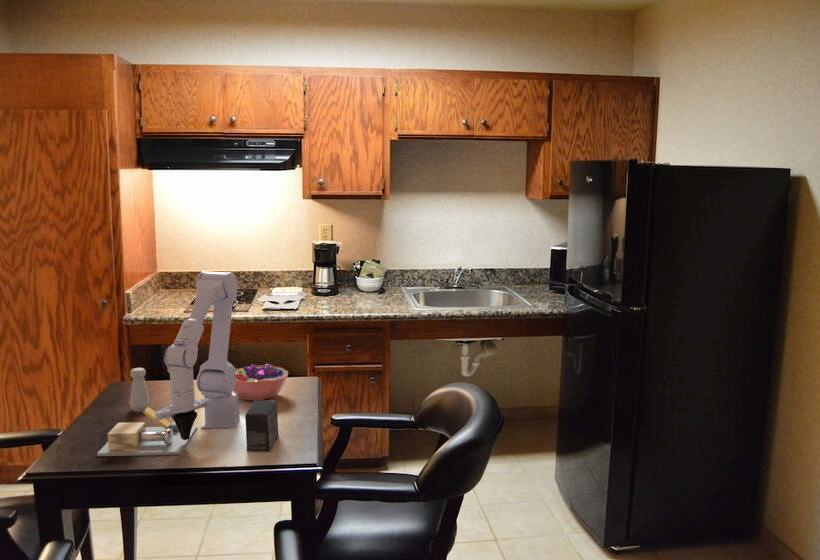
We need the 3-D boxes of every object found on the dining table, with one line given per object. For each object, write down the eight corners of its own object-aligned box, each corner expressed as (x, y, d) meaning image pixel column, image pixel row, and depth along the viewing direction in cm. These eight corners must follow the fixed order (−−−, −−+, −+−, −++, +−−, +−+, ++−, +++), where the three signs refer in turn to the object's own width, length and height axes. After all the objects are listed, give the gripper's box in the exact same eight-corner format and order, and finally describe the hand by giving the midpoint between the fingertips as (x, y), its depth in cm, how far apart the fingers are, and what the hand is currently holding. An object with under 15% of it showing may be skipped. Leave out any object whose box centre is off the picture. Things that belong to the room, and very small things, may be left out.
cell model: (234, 388, 224) (233, 356, 222) (294, 390, 223) (293, 357, 221) (218, 406, 207) (217, 371, 205) (282, 408, 206) (281, 372, 204)
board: (197, 428, 190) (197, 426, 189) (180, 454, 173) (180, 451, 173) (121, 430, 188) (121, 427, 188) (97, 456, 172) (97, 453, 171)
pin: (173, 440, 179) (172, 426, 179) (168, 446, 175) (168, 432, 175) (126, 441, 179) (125, 427, 178) (121, 447, 175) (120, 433, 174)
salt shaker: (143, 414, 201) (140, 372, 198) (125, 412, 202) (123, 371, 199) (154, 407, 206) (151, 366, 204) (137, 405, 207) (134, 365, 205)
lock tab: (171, 426, 188) (173, 424, 188) (167, 431, 185) (169, 428, 185) (146, 408, 187) (148, 406, 187) (142, 413, 183) (144, 410, 183)
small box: (255, 435, 185) (254, 399, 184) (279, 436, 185) (278, 399, 183) (245, 451, 175) (243, 413, 173) (270, 452, 175) (268, 413, 173)
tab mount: (181, 427, 188) (180, 421, 188) (178, 432, 185) (177, 425, 185) (173, 428, 188) (173, 421, 188) (170, 432, 185) (170, 425, 185)
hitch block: (146, 438, 181) (145, 422, 180) (136, 450, 173) (135, 433, 172) (119, 439, 180) (118, 422, 179) (108, 451, 173) (107, 433, 172)
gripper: (200, 379, 183) (202, 427, 185) (148, 392, 173) (151, 442, 175) (213, 385, 178) (215, 434, 180) (161, 399, 168) (164, 450, 170)
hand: (185, 438), depth 177 cm, fingers closed
